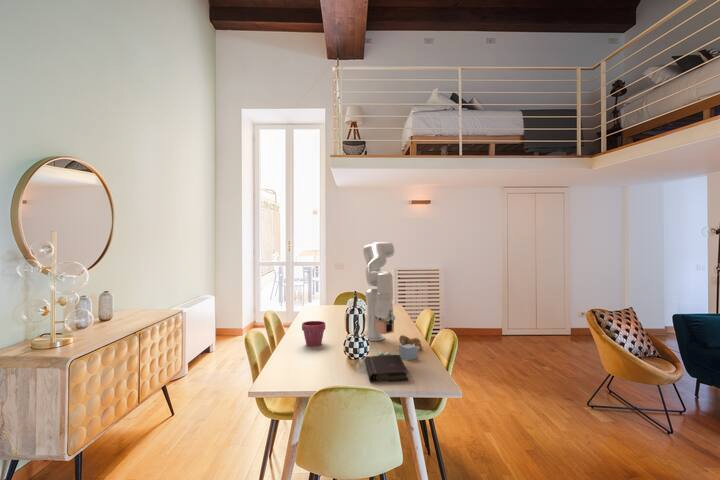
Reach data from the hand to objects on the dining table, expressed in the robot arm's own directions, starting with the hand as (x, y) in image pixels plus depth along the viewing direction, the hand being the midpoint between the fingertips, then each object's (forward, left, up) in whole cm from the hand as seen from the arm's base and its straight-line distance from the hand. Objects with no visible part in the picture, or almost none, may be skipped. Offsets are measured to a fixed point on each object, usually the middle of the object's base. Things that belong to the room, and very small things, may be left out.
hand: (384, 329), depth 205 cm
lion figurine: (-6, +22, -16) cm, 28 cm away
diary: (+16, -10, -16) cm, 25 cm away
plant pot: (-47, -20, -16) cm, 53 cm away
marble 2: (+1, +2, -14) cm, 15 cm away
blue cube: (+4, +12, -16) cm, 20 cm away
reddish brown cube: (0, 0, -1) cm, 1 cm away
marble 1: (-1, -1, -15) cm, 15 cm away
